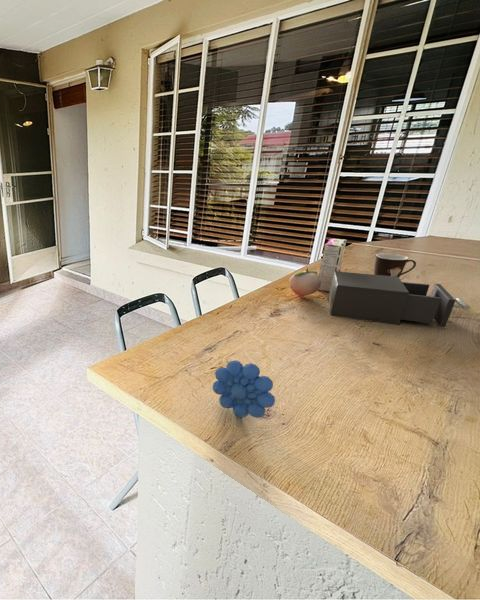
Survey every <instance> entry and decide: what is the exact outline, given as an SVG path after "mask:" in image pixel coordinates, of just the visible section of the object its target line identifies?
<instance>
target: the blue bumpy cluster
mask: <svg viewBox="0 0 480 600" xmlns="http://www.w3.org/2000/svg"><path fill="white" fill-rule="evenodd" d="M225 366H226V367H218V368H217V369H216V370H215V372H214V376H215V379H216V380H215V381H214V382H213V384H212V391H213V392H214V393H215V394H216V395H219V399H218V401H219V405H220V406H221V407H222V408H224V409H232V413H233V415H235V417H237V418H241V419H242V418H243V419H244V418H247V417H248V416H251V418H252V417H253V418H255V419H258V418H262V417H264V416H265V413H266V409H267V408H269V409H270V408H272V407H274V405H275V402H276V398H275V395H273V394H272V393H271V392H270V391H271V390H272V389H273V386H274V382H273V380H272V379H271V378H270V377H269V376H267V375H260V374H261V370H260V367H259V366H258V365H257V364H255V363H252V362H251V363H246V364H245V365H243V364H242V362H240V361H239V360H235V359H234V360H230V361H228V362H227V364H226V365H225Z"/></svg>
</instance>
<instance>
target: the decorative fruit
mask: <svg viewBox="0 0 480 600" xmlns="http://www.w3.org/2000/svg"><path fill="white" fill-rule="evenodd" d="M288 285H289V288H290V290H291V291H292V292H293V293H294V294H296V295H297V296H298V297H301V298H302V297H306V296H309V295H312V294H315V293H316V292H317V291H319V290H318V289H319V288H320V285H321V279H320V277H319V274H318V272H317V271H316V270H312V269H310V270H309V268H306V270H303V271H297V272H295V273H294V274H293V275H292V276H291V277H290V278H289V281H288Z"/></svg>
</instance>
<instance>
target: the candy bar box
mask: <svg viewBox="0 0 480 600" xmlns="http://www.w3.org/2000/svg"><path fill="white" fill-rule="evenodd" d="M347 241H348V240H347V239H343V238H342V239H341V238H330V239H329V240H328V241H327V242H326V243H325V244H324V246H323V253H322V258H321V262H320V268H319V273H318V276H319V277H320V279H321V285H320V288H319V289H318V290H317V291H319V292H320V291H321V292H328V293H330V290H331V286H332V281H333V277H334V273H335V271H338V272H341V269H342V264H343V258H344V254H345V249H346V244H347Z"/></svg>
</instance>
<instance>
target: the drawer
mask: <svg viewBox="0 0 480 600" xmlns="http://www.w3.org/2000/svg"><path fill="white" fill-rule="evenodd" d="M402 283H403V284H404V286H405V287H406V289H407V290H408V292H409V295H408V298H407V301H406V304H405V307H404V311H403V314H402V317H401V320H402V321H409V322H416V323H417V322H418V323H424V324H431V325H432V324H433V322H434V321H435V323H436V324H437V326H438V327H439V328H446V327H447V325H448V322H449V319H450V316H451V314H452V311H453V309H454V308H458V309H459V308H460V309H462V310H463V311H469V310H470V309H471V306H470V305H469V304H468V303H467V302H466V301H465V300H464V299H463V298H462V297H457V298H454V297H453V296H452V294H450V293H449V291H448V290H446V288H445V287H444V286H443V285H442V284H441V283H434V285H433V288H432V290H431V293H430V296H428V291H429V288H430V284H427V283H417V282H407V281H402ZM455 303H456V304H455ZM401 320H400V321H401Z"/></svg>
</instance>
